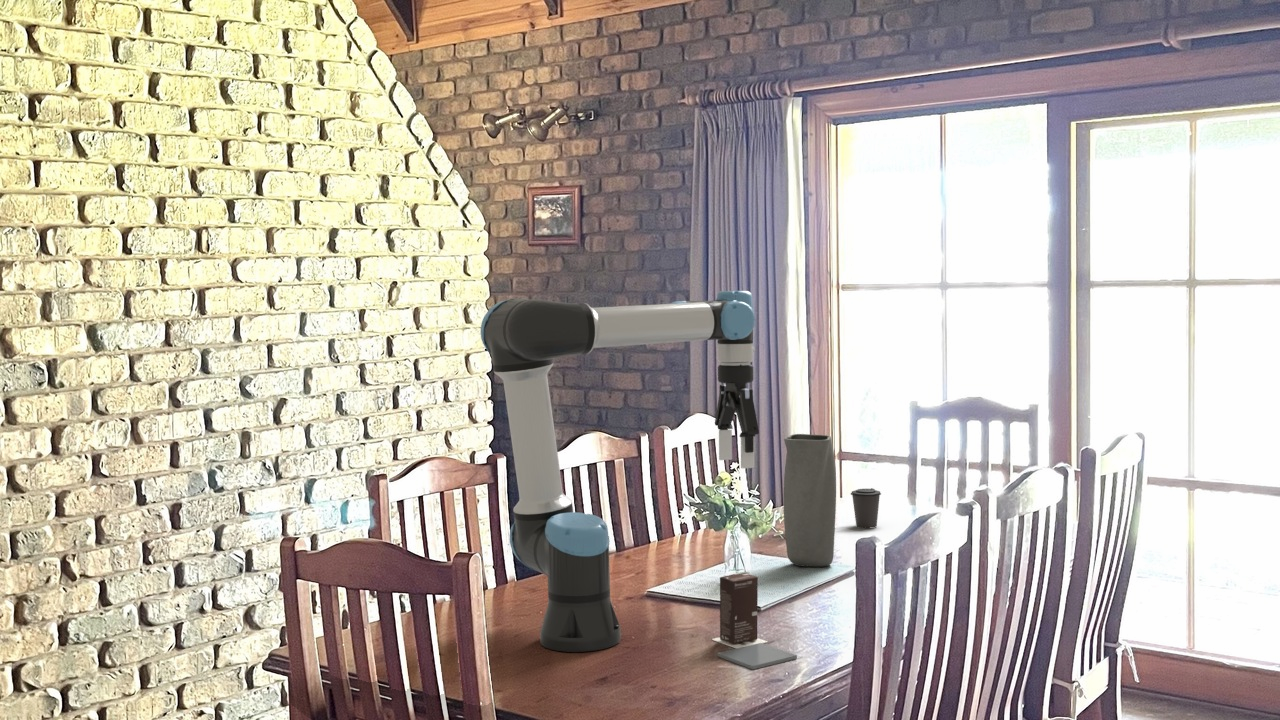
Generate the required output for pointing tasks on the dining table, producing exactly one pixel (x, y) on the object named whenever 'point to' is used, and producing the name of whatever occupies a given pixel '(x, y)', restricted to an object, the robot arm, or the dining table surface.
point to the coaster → (757, 656)
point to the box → (738, 608)
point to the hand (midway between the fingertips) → (736, 463)
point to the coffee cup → (866, 507)
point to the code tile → (742, 644)
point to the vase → (809, 499)
